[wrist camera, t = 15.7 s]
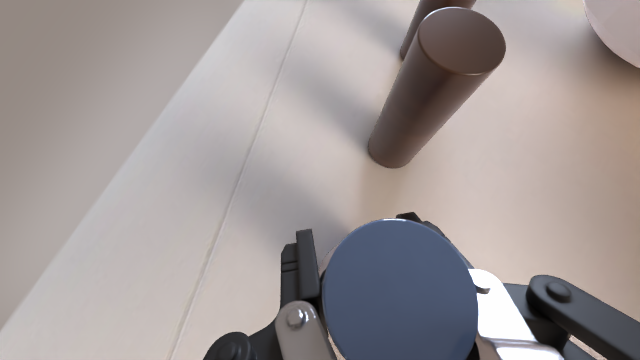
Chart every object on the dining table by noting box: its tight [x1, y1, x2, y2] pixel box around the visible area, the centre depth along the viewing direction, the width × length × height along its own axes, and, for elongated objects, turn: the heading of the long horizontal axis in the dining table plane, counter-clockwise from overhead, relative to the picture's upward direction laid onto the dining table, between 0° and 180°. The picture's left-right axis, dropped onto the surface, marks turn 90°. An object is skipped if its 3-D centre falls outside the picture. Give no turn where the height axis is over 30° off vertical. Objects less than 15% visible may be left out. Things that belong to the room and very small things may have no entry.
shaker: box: [319, 218, 479, 360], centre depth 11 cm, size 4×4×9 cm
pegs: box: [368, 0, 506, 168], centre depth 15 cm, size 3×12×9 cm, turn 159°
